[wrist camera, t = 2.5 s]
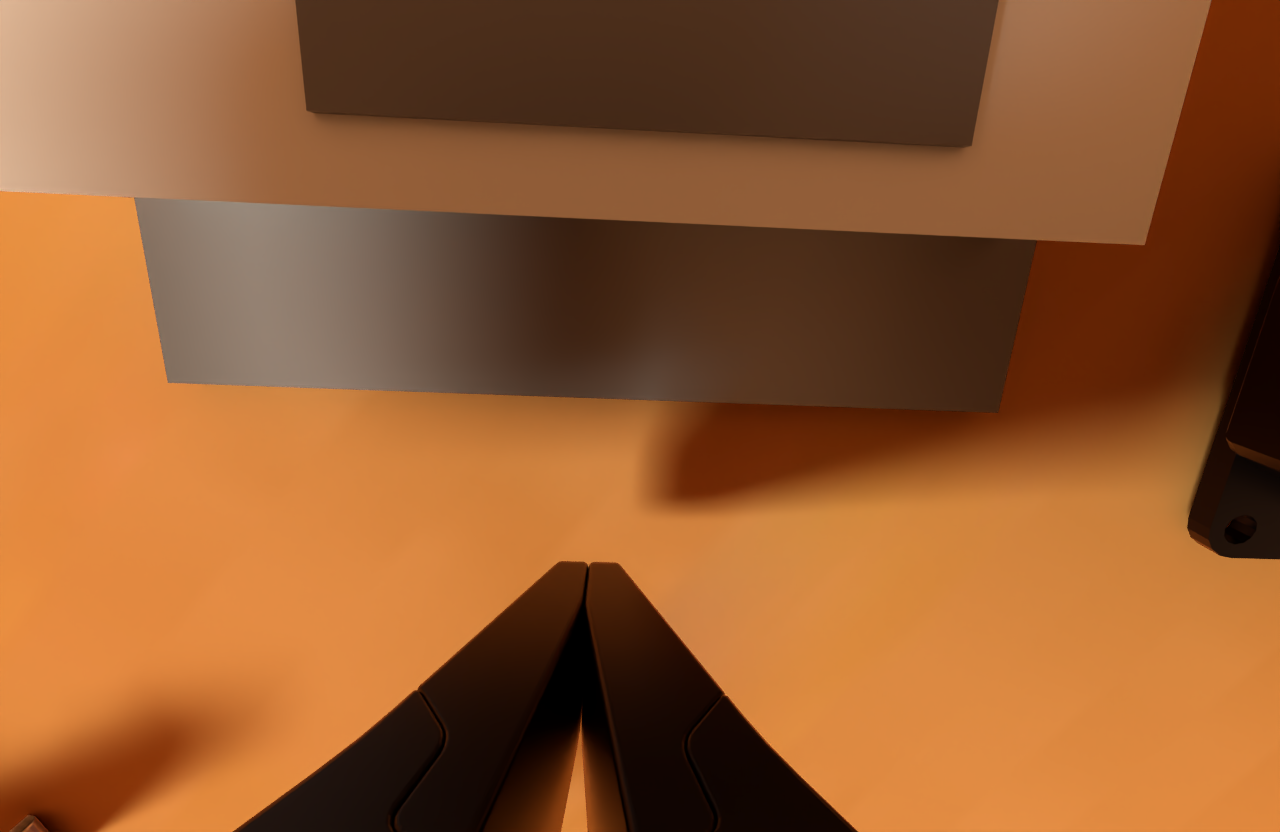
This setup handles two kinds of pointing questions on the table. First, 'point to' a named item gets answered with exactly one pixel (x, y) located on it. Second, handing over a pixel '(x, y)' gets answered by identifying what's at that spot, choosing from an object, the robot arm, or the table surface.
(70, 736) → the table surface
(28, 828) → the caliper
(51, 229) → the table surface
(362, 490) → the table surface
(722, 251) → the subfloor panel
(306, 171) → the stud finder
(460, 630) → the table surface
